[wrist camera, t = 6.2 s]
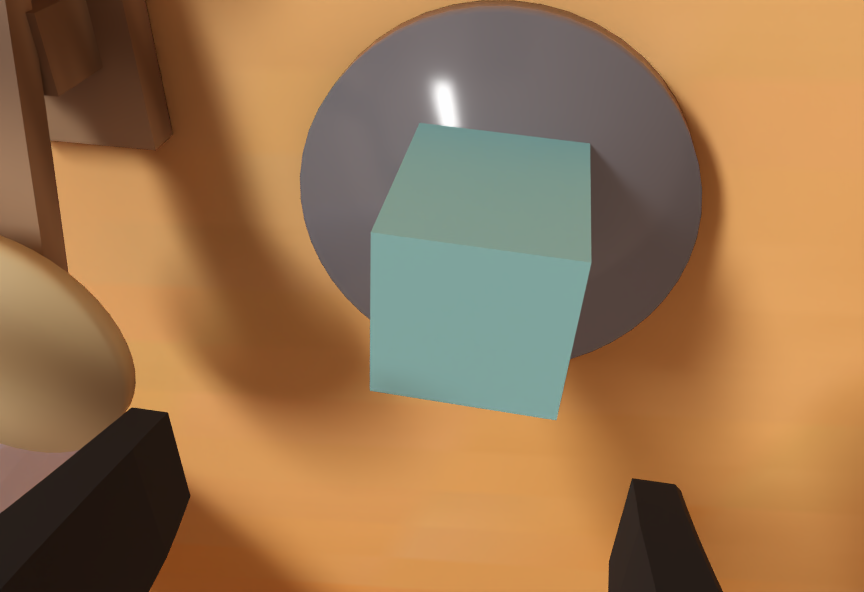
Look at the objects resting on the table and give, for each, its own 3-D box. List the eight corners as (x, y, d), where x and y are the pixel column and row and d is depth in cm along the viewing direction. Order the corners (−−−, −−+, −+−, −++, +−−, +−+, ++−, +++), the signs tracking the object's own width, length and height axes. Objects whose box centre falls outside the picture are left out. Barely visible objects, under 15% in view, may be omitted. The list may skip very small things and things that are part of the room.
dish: (653, 364, 22) (656, 387, 21) (324, 324, 23) (315, 345, 22) (745, 14, 16) (753, 28, 15) (294, -14, 17) (280, -2, 16)
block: (562, 283, 19) (556, 420, 16) (412, 262, 20) (370, 390, 16) (590, 143, 17) (591, 262, 13) (419, 122, 17) (370, 231, 14)
